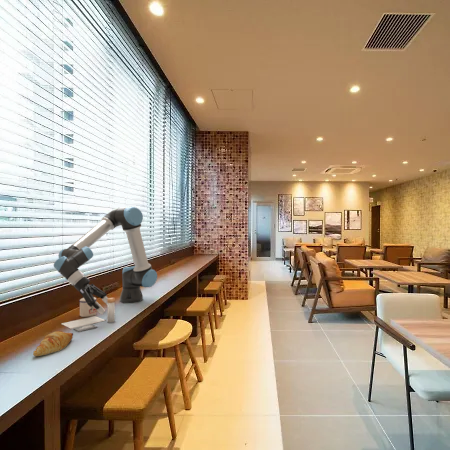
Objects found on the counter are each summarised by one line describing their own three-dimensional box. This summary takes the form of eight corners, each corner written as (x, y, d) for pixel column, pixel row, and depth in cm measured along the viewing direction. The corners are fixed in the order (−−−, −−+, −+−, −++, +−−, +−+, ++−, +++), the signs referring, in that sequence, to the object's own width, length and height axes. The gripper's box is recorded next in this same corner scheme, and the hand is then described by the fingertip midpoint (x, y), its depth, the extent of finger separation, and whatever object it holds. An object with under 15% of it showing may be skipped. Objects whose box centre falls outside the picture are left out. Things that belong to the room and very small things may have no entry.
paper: (95, 316, 175) (95, 316, 175) (105, 320, 167) (105, 320, 167) (61, 324, 162) (61, 323, 162) (70, 328, 154) (70, 328, 154)
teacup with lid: (91, 317, 173) (91, 296, 174) (75, 317, 175) (75, 296, 175) (102, 311, 185) (102, 292, 186) (87, 311, 186) (87, 291, 187)
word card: (91, 325, 160) (91, 323, 160) (97, 327, 156) (97, 326, 156) (73, 329, 153) (73, 328, 153) (78, 332, 149) (78, 330, 149)
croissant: (40, 368, 118) (49, 350, 118) (20, 354, 120) (28, 336, 119) (76, 346, 139) (84, 331, 138) (59, 334, 141) (66, 319, 140)
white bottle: (112, 320, 168) (112, 297, 168) (116, 321, 165) (116, 298, 166) (105, 321, 165) (105, 298, 165) (109, 323, 163) (109, 299, 163)
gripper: (83, 282, 176) (110, 308, 177) (62, 290, 152) (94, 321, 152) (93, 272, 177) (120, 298, 177) (74, 279, 152) (105, 310, 152)
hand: (108, 309), depth 165 cm, fingers open, 13 cm apart
